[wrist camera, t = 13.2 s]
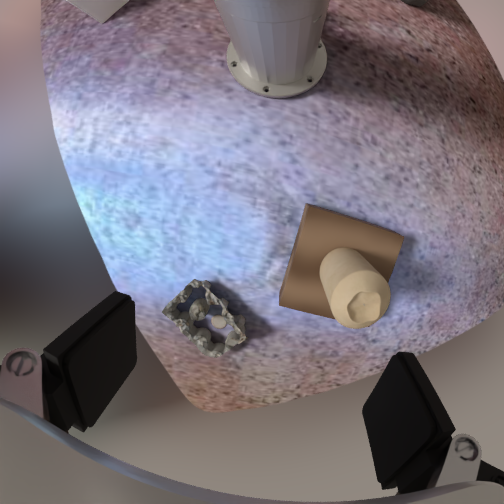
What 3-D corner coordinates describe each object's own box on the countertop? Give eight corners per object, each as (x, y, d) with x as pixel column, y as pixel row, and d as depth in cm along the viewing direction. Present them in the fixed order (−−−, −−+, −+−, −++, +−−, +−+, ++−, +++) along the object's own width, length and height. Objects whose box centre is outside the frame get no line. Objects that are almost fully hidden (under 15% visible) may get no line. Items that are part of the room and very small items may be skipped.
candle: (343, 236, 29) (369, 262, 20) (374, 268, 30) (407, 304, 20) (309, 271, 31) (319, 311, 21) (341, 301, 31) (361, 347, 21)
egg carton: (254, 325, 38) (252, 341, 34) (217, 350, 40) (211, 366, 36) (203, 269, 36) (194, 280, 33) (167, 299, 38) (156, 312, 34)
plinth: (305, 203, 33) (309, 205, 29) (392, 230, 32) (404, 236, 28) (279, 292, 36) (279, 305, 32) (361, 312, 35) (369, 326, 32)
